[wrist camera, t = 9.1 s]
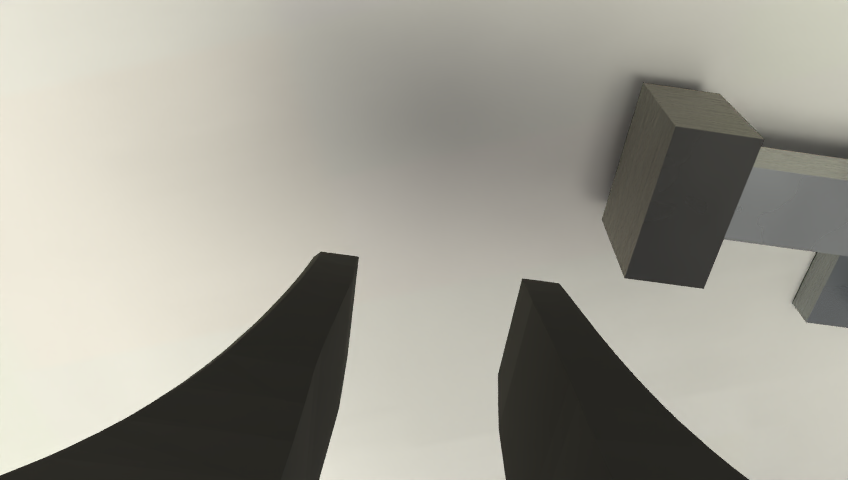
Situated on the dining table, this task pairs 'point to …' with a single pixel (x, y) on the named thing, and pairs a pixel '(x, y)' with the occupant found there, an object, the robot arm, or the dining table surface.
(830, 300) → the vise
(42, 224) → the dining table surface
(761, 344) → the dining table surface
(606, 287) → the dining table surface
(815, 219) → the slide jaw
